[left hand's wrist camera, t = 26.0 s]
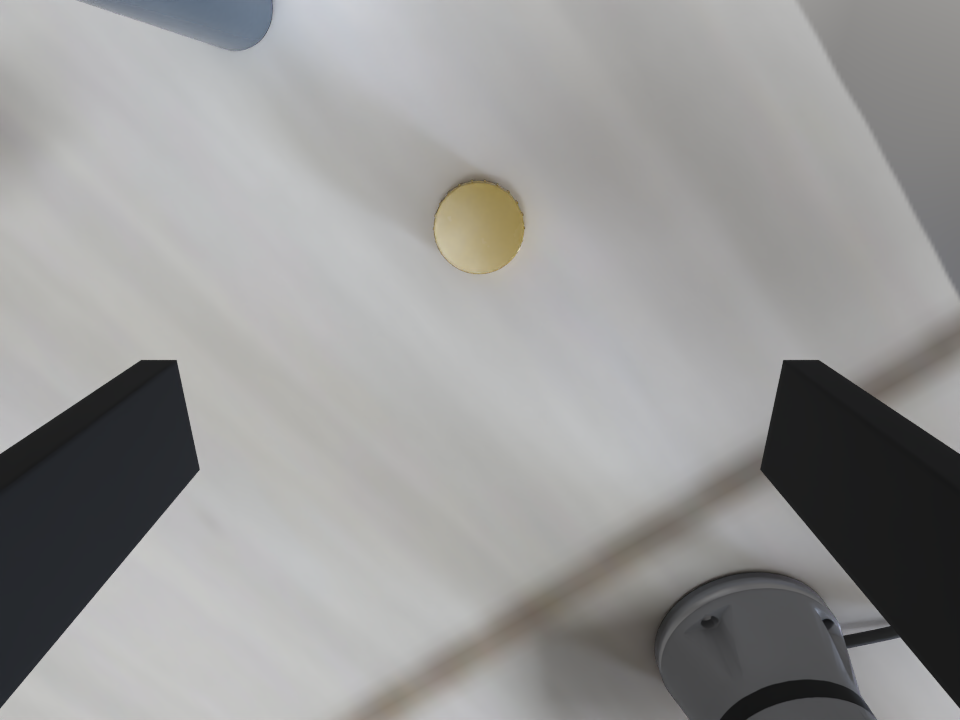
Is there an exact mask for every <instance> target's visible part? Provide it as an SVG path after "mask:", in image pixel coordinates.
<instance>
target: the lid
mask: <svg viewBox="0 0 960 720" xmlns="http://www.w3.org/2000/svg"><path fill="white" fill-rule="evenodd" d="M517 204H518V202H517V200H514V198H513V197H512V196H511V195H510V192H509V191H508V190H507V191H506V190H505V189H504V188H502V187H501V186H499V185H498V183H496V184H495V183H492V182H488V181H486V180H484V181H473V180H471V181H470V182H466V183H464V184H459V185H458V186H457V187H456V188H454V189H453V190H452V191H448V193H447V196H446V197H445V198H444V199H443V201H441V202H440V203H439V205H440V206H439V208H438V211H437V213H436V214H435V216H434V217H435V221H434V227H433V230H434V236H435V240H436V241H435V242H436V244H437V246H438V248H439V250H440V252H441V254H442V255H443V256H444V258H445V259H446V260H447V261H448V262H449V263H450V264H452V265H453V266H454V267H456V268H457V269H460V270H462V271H464V272H468V273H473V274H486V273H490V272H494V271H496V270H498V269H500V268H502V267H504V266H505V265H507V264H508V263H509V262H510V261H511V260H512V259H513V258H514V256H515V255H516V254H517V252H518V250H519V248H520V246H521V243H522V242H523V235H524V229H525V227H524V222H523V217H522V216H523V213H522V212H521V211H520V209H519V207H518V205H517Z"/></svg>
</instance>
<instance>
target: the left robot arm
mask: <svg viewBox="0 0 960 720" xmlns="http://www.w3.org/2000/svg"><path fill="white" fill-rule="evenodd" d="M199 470H200V469H199V464H198V459H197V455H196V450H195V445H194V440H193V436H192V431H191V426H190V421H189V417H188V412H187V407H186V402H185V398H184V393H183V388H182V383H181V379H180V374H179V369H178V365H177V360H141V361H139V362H138V363H136V364H135V365H133V366H132V367H130V368H129V369H127V370H126V371H124V372H123V373H121V374H120V375H118V376H117V377H115V378H114V379H112V380H111V381H109V382H108V383H106V384H105V385H103V386H102V387H100V388H99V389H97V390H96V391H94V392H93V393H91V394H90V395H88V396H87V397H85V398H84V399H82V400H81V401H79V402H78V403H76V404H75V405H73V406H72V407H70V408H69V409H67V410H66V411H64V412H63V413H61V414H60V415H58V416H57V417H55V418H54V419H52V420H51V421H49V422H48V423H46V424H45V425H43V426H42V427H40V428H39V429H37V430H36V431H34V432H33V433H31V434H30V435H28V436H27V437H25V438H24V439H22V440H21V441H19V442H18V443H16V444H15V445H13V446H12V447H10V448H9V449H7V450H6V451H4V452H3V453H1V454H0V708H1V707H2V706H3V704H4V703H5V702H6V701H7V700H8V698H9V697H10V696H11V695H12V694H13V692H14V691H15V690H16V689H17V688H18V686H19V685H20V684H21V683H22V682H23V680H24V679H25V678H26V677H27V676H28V674H29V673H30V672H31V671H32V670H33V669H34V667H35V666H36V665H37V664H38V663H39V661H40V660H41V659H42V658H43V657H44V655H45V654H46V653H47V652H48V651H49V649H50V648H51V647H52V646H53V645H54V643H55V642H56V641H57V640H58V639H59V637H60V636H61V635H62V634H63V633H64V631H65V630H66V629H67V628H68V627H69V625H70V624H71V623H72V622H73V621H74V619H75V618H76V617H77V616H78V615H79V613H80V612H81V611H82V610H83V609H84V607H85V606H86V605H87V604H88V603H89V601H90V600H91V599H92V598H93V597H94V595H95V594H96V593H97V592H98V591H99V590H100V588H101V587H102V586H103V585H104V584H105V582H106V581H107V580H108V579H109V578H110V576H111V575H112V574H113V573H114V572H115V570H116V569H117V568H118V567H119V566H120V564H121V563H122V562H123V561H124V560H125V558H126V557H127V556H128V555H129V554H130V552H131V551H132V550H133V549H134V548H135V546H136V545H137V544H138V543H139V542H140V540H141V539H142V538H143V537H144V536H145V534H146V533H147V532H148V531H149V530H150V528H151V527H152V526H153V525H154V524H155V522H156V521H157V520H158V519H159V518H160V517H161V515H162V514H163V513H164V512H165V511H166V509H167V508H168V507H169V506H170V505H171V503H172V502H173V501H174V500H175V499H176V497H177V496H178V495H179V494H180V493H181V491H182V490H183V489H184V488H185V487H186V485H187V484H188V483H189V482H190V481H191V479H192V478H193V477H194V476H195V475H196V473H197V472H198V471H199ZM760 470H761V471H762V472H763V473H764V475H765V476H766V477H767V478H768V479H769V481H770V482H771V483H772V484H773V485H774V487H775V488H776V489H777V490H778V491H779V493H780V494H781V495H782V496H783V497H784V499H785V500H786V501H787V502H788V503H789V505H790V506H791V507H792V508H793V509H794V511H795V512H796V513H797V514H798V515H799V517H800V518H801V519H802V520H803V521H804V522H805V524H806V525H807V526H808V527H809V528H810V530H811V531H812V532H813V533H814V534H815V536H816V537H817V538H818V539H819V540H820V542H821V543H822V544H823V545H824V546H825V548H826V549H827V550H828V551H829V552H830V554H831V555H832V556H833V557H834V558H835V560H836V561H837V562H838V563H839V564H840V566H841V567H842V568H843V569H844V570H845V572H846V573H847V574H848V575H849V576H850V578H851V579H852V580H853V581H854V582H855V584H856V585H857V586H858V587H859V588H860V590H861V591H862V592H863V593H864V594H865V595H866V597H867V598H868V599H869V600H870V601H871V603H872V604H873V605H874V606H875V607H876V609H877V610H878V611H879V612H880V613H881V615H882V616H883V617H884V618H885V619H886V621H887V622H888V623H889V624H890V625H891V626H889V627H885V628H880V629H875V630H870V631H865V632H860V633H855V634H850V635H845V636H843V634H842V631H841V628H840V626H839V623H838V621H837V620H836V618H835V616H834V615H833V613H832V612H831V611H830V609H829V608H828V607H827V605H826V604H825V603H824V601H823V600H822V599H821V597H820V596H819V595H818V594H817V593H816V592H815V591H814V590H812V589H811V588H810V587H808V586H807V585H805V584H803V583H802V582H800V581H797V580H795V579H793V578H790V577H787V576H783V575H779V574H772V573H743V574H737V575H732V576H727V577H724V578H720V579H717V580H714V581H712V582H709V583H707V584H705V585H703V586H701V587H699V588H697V589H696V590H694V591H692V592H691V593H689V594H688V595H686V596H685V597H684V598H682V599H681V600H680V601H679V602H678V603H677V604H676V605H675V606H674V607H673V608H672V609H671V610H670V611H669V613H668V614H667V615H666V617H665V618H664V620H663V621H662V623H661V625H660V627H659V630H658V632H657V636H656V640H655V657H656V661H657V665H658V668H659V671H660V674H661V677H662V680H663V682H664V684H665V687H666V688H667V690H668V692H669V693H670V694H671V696H672V697H673V698H674V700H675V701H676V702H677V703H678V704H679V706H680V707H681V709H682V710H683V711H684V713H685V714H686V715H687V717H688V718H689V720H877V719H876V718H875V716H874V715H873V713H872V712H871V710H870V709H869V707H868V706H867V704H866V703H865V701H864V700H863V698H862V697H861V695H860V691H859V688H858V685H857V681H856V678H855V675H854V671H853V668H852V664H851V661H850V658H849V654H848V651H847V648H852V647H857V646H862V645H867V644H872V643H876V642H881V641H886V640H891V639H895V638H899V637H901V639H902V640H903V641H904V642H905V643H906V645H907V646H908V647H909V648H910V649H911V651H912V652H913V653H914V654H915V655H916V657H917V658H918V659H919V660H920V661H921V663H922V664H923V665H924V666H925V667H926V669H927V670H928V671H929V672H930V673H931V674H932V676H933V677H934V678H935V679H936V680H937V682H938V683H939V684H940V685H941V686H942V688H943V689H944V690H945V691H946V692H947V694H948V695H949V696H950V697H951V698H952V700H953V701H954V702H955V703H956V704H957V706H958V707H959V708H960V454H959V453H957V452H956V451H954V450H953V449H951V448H950V447H948V446H947V445H945V444H944V443H942V442H941V441H939V440H938V439H936V438H935V437H933V436H932V435H930V434H929V433H927V432H926V431H924V430H923V429H921V428H920V427H918V426H917V425H915V424H914V423H912V422H911V421H909V420H908V419H906V418H905V417H903V416H902V415H900V414H899V413H897V412H896V411H894V410H893V409H891V408H890V407H888V406H887V405H885V404H884V403H882V402H881V401H879V400H878V399H876V398H875V397H873V396H872V395H870V394H869V393H867V392H866V391H864V390H863V389H861V388H860V387H858V386H857V385H855V384H854V383H852V382H851V381H849V380H848V379H846V378H845V377H843V376H842V375H840V374H839V373H837V372H836V371H834V370H833V369H831V368H830V367H828V366H827V365H825V364H824V363H822V362H821V361H819V360H783V365H782V369H781V374H780V379H779V383H778V388H777V393H776V398H775V402H774V407H773V412H772V417H771V421H770V426H769V431H768V436H767V440H766V445H765V450H764V455H763V459H762V464H761V469H760Z"/></svg>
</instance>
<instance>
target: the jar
mask: <svg viewBox="0 0 960 720" xmlns="http://www.w3.org/2000/svg"><path fill="white" fill-rule="evenodd" d="M77 1H80V2H83V3H86V4H89V5H92V6H95V7H98V8H101V9H104V10H107V11H110V12H113V13H116V14H119V15H122V16H125V17H128V18H131V19H134V20H137V21H140V22H143V23H146V24H149V25H153V26H156V27H159V28H162V29H165V30H168V31H171V32H174V33H177V34H180V35H183V36H186V37H189V38H192V39H195V40H198V41H201V42H204V43H207V44H210V45H213V46H216V47H219V48H222V49H225V50H231V51H239V50H244V49H247V48H250V47H252V46H254V45H255V44H257V43H258V42H259V41H260V40H261V39H262V38H263V37H264V35H265V34H266V32H267V30H268V28H269V25H270V22H271V18H272V0H77Z"/></svg>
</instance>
